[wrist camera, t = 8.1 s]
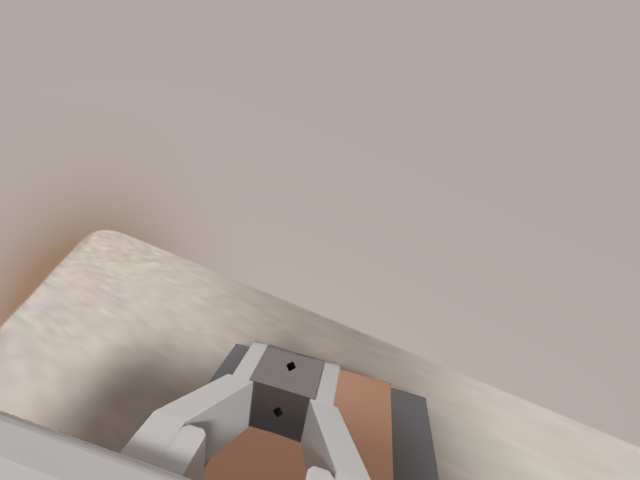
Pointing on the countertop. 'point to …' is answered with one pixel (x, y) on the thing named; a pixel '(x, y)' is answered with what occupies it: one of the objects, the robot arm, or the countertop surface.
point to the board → (407, 428)
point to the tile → (286, 455)
